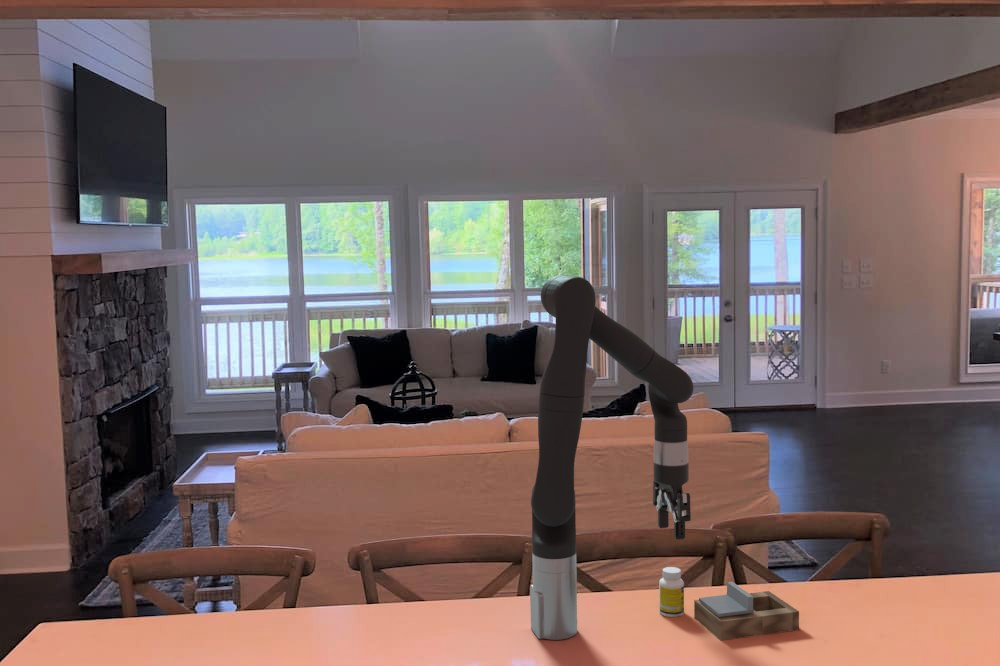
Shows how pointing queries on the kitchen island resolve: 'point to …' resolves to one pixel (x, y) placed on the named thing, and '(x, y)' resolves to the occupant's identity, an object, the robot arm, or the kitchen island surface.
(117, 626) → the kitchen island surface
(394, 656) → the kitchen island surface
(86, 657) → the kitchen island surface
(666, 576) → the supplement bottle
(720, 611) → the panel
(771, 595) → the socket board
